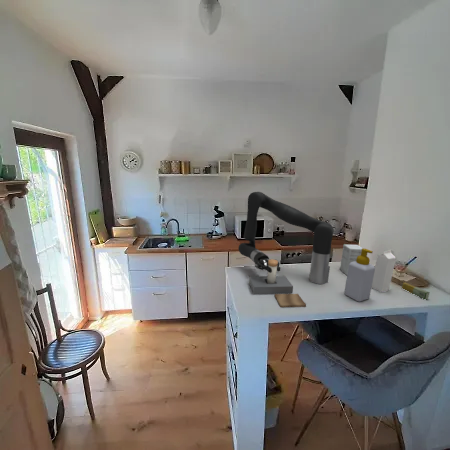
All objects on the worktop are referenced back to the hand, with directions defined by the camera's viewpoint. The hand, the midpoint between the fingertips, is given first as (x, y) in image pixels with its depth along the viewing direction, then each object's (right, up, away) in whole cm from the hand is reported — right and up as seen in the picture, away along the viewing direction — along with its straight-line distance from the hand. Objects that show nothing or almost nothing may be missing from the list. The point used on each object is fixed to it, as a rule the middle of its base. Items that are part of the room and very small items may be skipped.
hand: (275, 270), depth 126 cm
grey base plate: (-2, -10, +5) cm, 12 cm away
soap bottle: (+41, -13, 0) cm, 43 cm away
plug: (-1, -9, +5) cm, 10 cm away
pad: (+5, -13, -7) cm, 16 cm away
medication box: (+74, -14, +4) cm, 75 cm away
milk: (+58, -12, +8) cm, 60 cm away
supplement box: (+52, -7, +28) cm, 60 cm away
